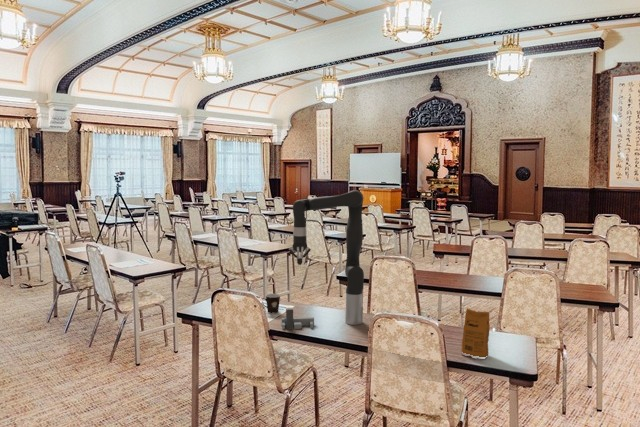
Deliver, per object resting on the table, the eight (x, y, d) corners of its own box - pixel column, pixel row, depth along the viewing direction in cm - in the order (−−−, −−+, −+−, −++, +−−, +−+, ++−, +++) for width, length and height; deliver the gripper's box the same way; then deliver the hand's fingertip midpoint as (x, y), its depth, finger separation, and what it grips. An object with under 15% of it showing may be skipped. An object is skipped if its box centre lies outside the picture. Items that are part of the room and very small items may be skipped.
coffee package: (465, 349, 237) (467, 305, 235) (491, 355, 230) (493, 309, 228) (458, 355, 229) (459, 310, 227) (484, 361, 222) (486, 315, 220)
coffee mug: (281, 309, 299) (281, 294, 298) (278, 314, 291) (278, 297, 290) (262, 309, 300) (262, 293, 299) (259, 313, 292) (259, 296, 291)
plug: (292, 327, 267) (292, 305, 266) (293, 329, 264) (293, 307, 263) (285, 327, 267) (286, 305, 266) (286, 329, 263) (286, 307, 262)
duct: (313, 324, 273) (313, 316, 272) (315, 328, 266) (315, 320, 265) (281, 325, 270) (281, 317, 270) (282, 329, 263) (282, 321, 263)
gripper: (288, 235, 273) (288, 266, 274) (312, 235, 275) (311, 265, 276) (287, 233, 280) (287, 263, 282) (310, 233, 282) (310, 263, 284)
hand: (299, 264), depth 279 cm, fingers closed
